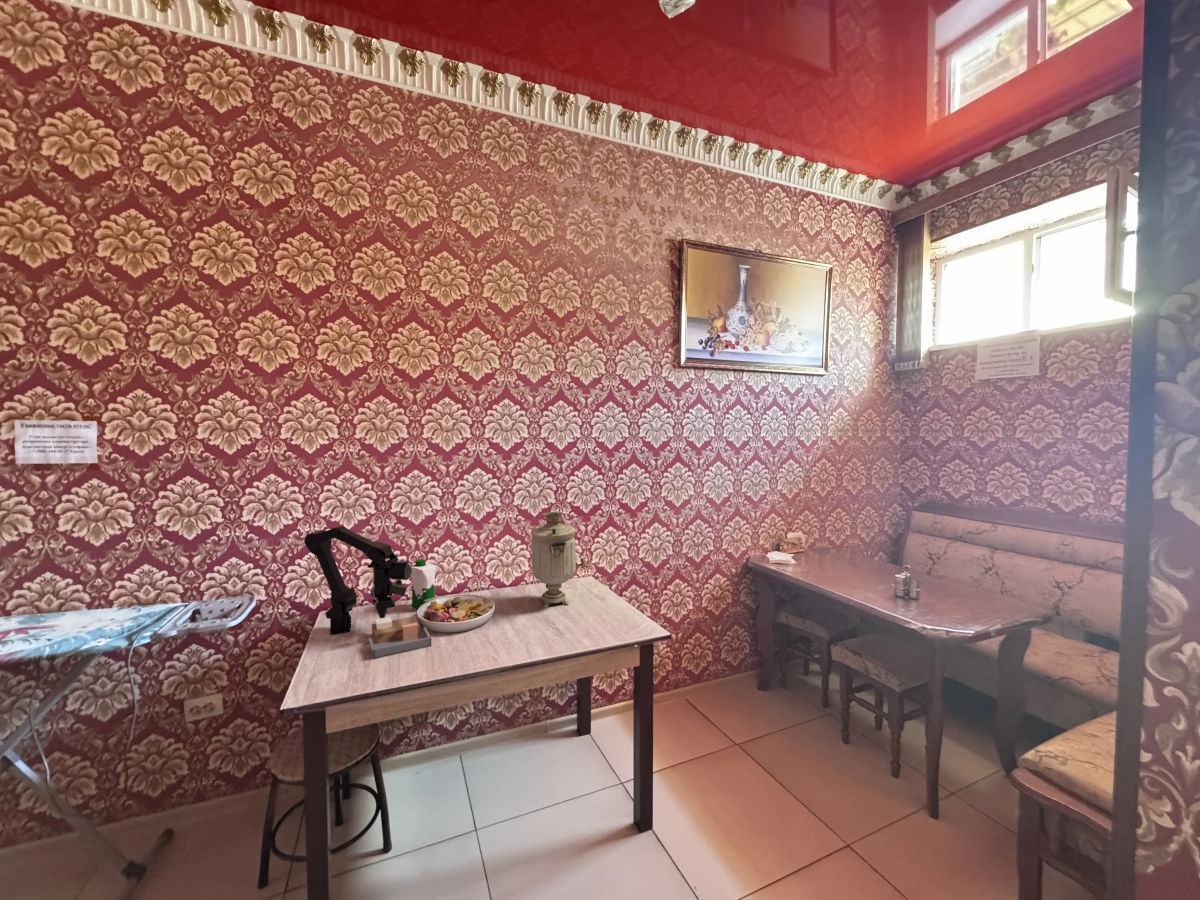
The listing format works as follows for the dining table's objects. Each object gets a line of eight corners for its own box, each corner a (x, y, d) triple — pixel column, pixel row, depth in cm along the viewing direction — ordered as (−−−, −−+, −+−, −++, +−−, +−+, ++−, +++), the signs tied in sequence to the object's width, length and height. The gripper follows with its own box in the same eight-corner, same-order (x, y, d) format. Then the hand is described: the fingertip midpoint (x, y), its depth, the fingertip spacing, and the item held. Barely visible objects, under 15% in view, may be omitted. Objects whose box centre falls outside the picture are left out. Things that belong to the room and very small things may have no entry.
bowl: (449, 601, 209) (449, 584, 208) (508, 611, 199) (508, 593, 198) (399, 628, 180) (399, 608, 180) (465, 641, 170) (465, 620, 170)
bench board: (375, 645, 166) (375, 634, 165) (372, 634, 174) (372, 624, 174) (419, 636, 174) (419, 625, 173) (414, 626, 182) (414, 616, 182)
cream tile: (376, 629, 169) (376, 624, 169) (375, 624, 174) (375, 619, 173) (391, 626, 172) (391, 621, 172) (389, 621, 176) (389, 616, 176)
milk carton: (426, 601, 207) (425, 557, 206) (439, 606, 202) (439, 560, 201) (408, 608, 200) (408, 561, 199) (421, 613, 195) (421, 565, 194)
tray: (372, 659, 156) (372, 650, 156) (369, 647, 165) (368, 638, 164) (431, 646, 166) (431, 637, 166) (425, 635, 175) (425, 627, 174)
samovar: (587, 616, 193) (588, 521, 191) (524, 615, 194) (525, 520, 192) (590, 591, 223) (591, 508, 221) (535, 590, 224) (536, 507, 221)
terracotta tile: (402, 638, 170) (403, 641, 168) (402, 625, 170) (403, 627, 168) (416, 635, 173) (417, 637, 171) (416, 622, 172) (417, 624, 171)
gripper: (409, 582, 172) (409, 623, 173) (400, 568, 187) (400, 606, 188) (376, 587, 166) (376, 630, 167) (369, 573, 181) (370, 612, 182)
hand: (382, 619), depth 176 cm, fingers closed
